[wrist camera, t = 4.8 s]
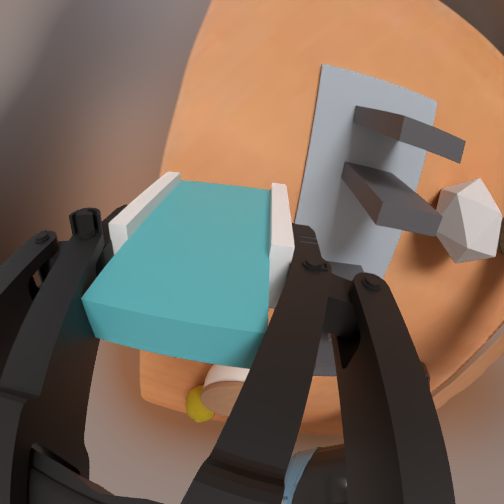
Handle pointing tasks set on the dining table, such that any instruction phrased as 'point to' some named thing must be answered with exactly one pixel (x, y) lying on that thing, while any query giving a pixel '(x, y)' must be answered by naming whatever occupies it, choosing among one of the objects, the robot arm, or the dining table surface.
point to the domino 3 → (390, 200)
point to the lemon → (197, 406)
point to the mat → (358, 152)
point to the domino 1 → (325, 358)
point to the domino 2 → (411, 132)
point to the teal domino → (191, 278)
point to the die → (468, 221)
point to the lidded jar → (222, 388)
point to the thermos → (501, 237)
